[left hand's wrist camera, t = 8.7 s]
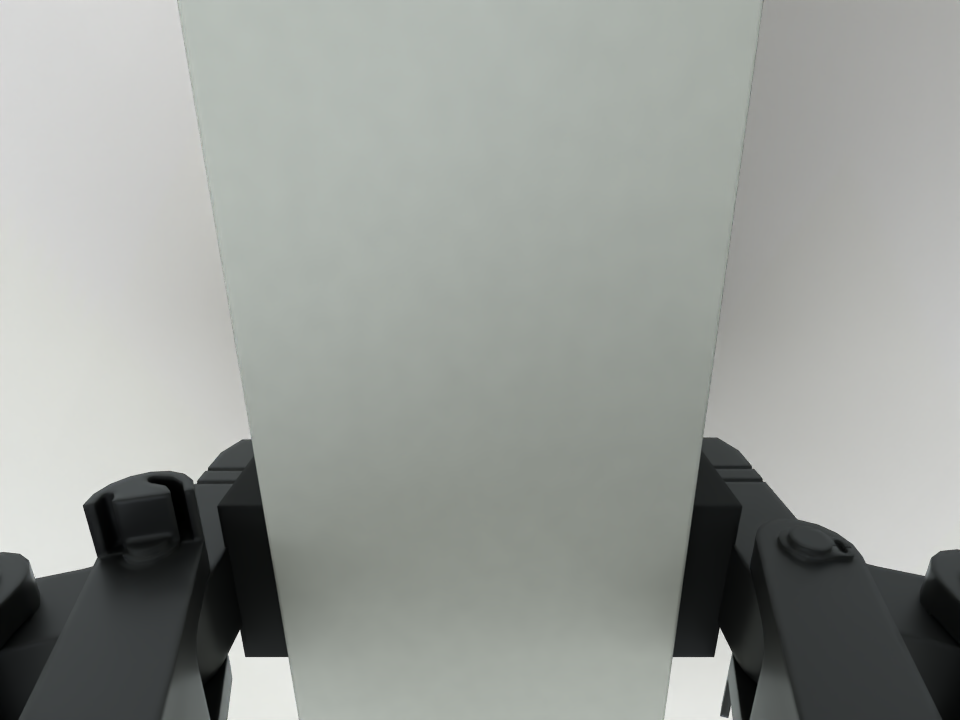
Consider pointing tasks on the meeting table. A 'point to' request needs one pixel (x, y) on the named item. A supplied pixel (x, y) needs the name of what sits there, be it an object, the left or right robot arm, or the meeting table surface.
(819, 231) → the meeting table surface
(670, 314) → the bar
